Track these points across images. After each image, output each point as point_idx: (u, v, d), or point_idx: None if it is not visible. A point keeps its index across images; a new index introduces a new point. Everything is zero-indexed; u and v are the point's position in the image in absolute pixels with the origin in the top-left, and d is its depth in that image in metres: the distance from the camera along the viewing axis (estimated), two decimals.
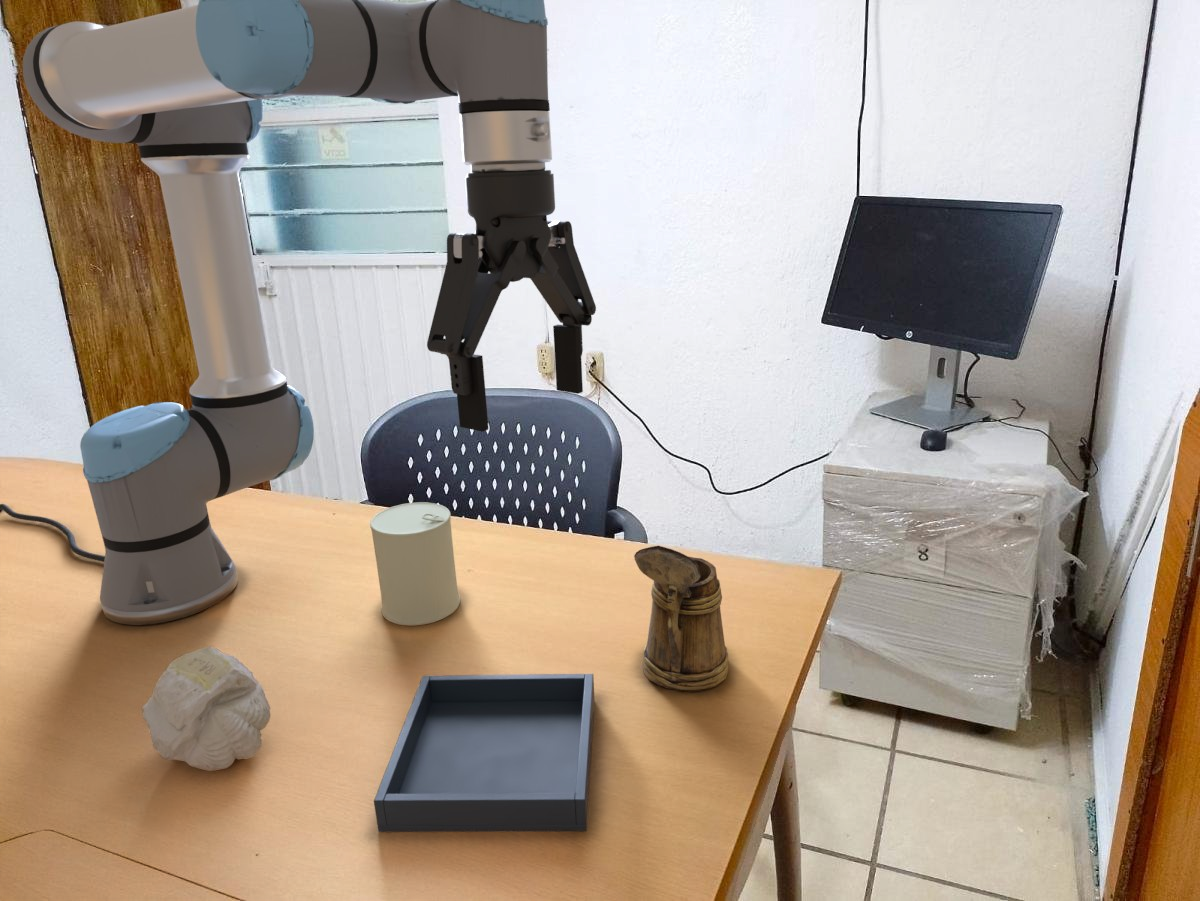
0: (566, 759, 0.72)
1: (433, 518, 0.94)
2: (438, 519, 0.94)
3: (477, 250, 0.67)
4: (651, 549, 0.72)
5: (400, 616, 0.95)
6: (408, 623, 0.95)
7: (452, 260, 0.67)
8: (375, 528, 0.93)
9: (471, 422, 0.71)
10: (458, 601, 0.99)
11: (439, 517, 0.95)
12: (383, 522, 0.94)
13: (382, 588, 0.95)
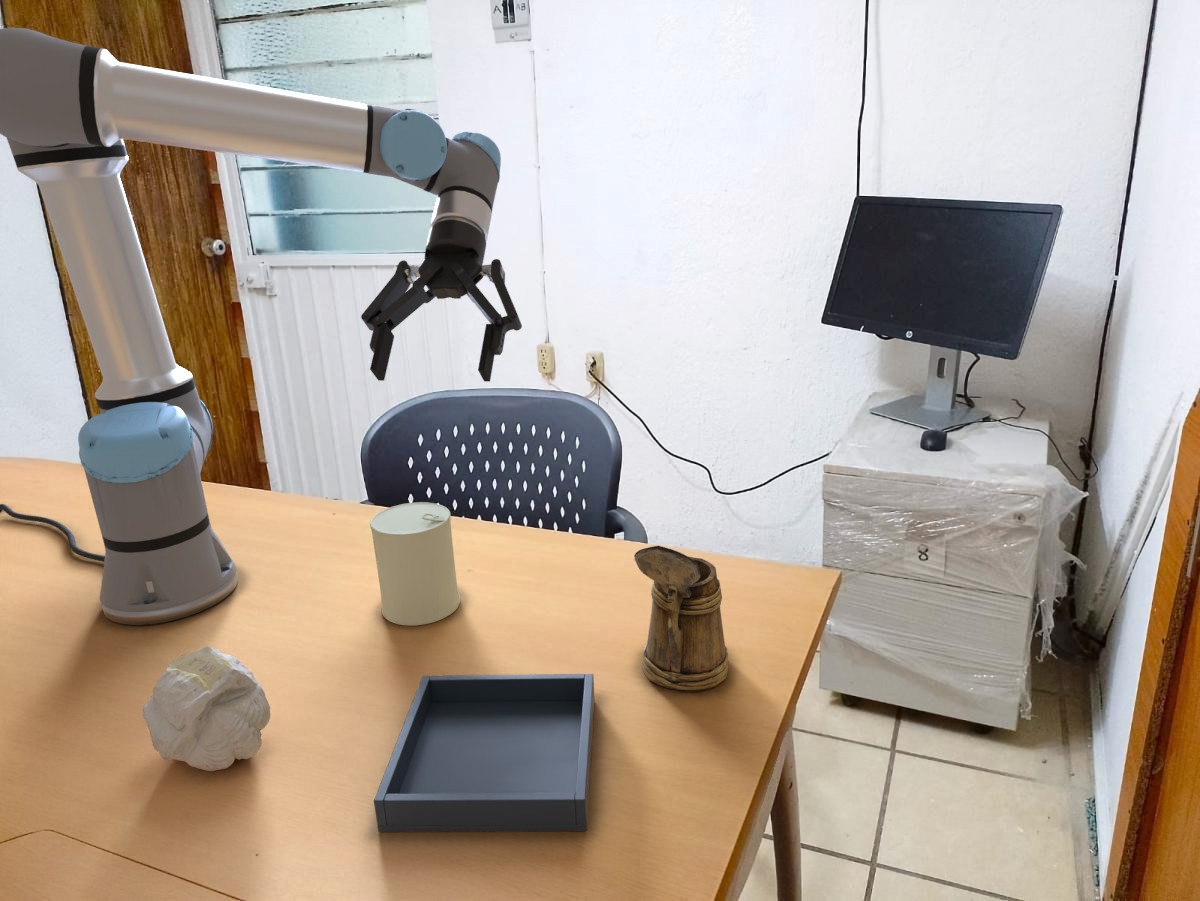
0: (566, 759, 0.72)
1: (433, 518, 0.94)
2: (438, 519, 0.94)
3: None
4: (651, 549, 0.72)
5: (400, 616, 0.95)
6: (408, 623, 0.95)
7: (501, 275, 1.04)
8: (375, 528, 0.93)
9: (488, 371, 0.99)
10: (458, 601, 0.99)
11: (439, 517, 0.95)
12: (383, 522, 0.94)
13: (382, 588, 0.95)
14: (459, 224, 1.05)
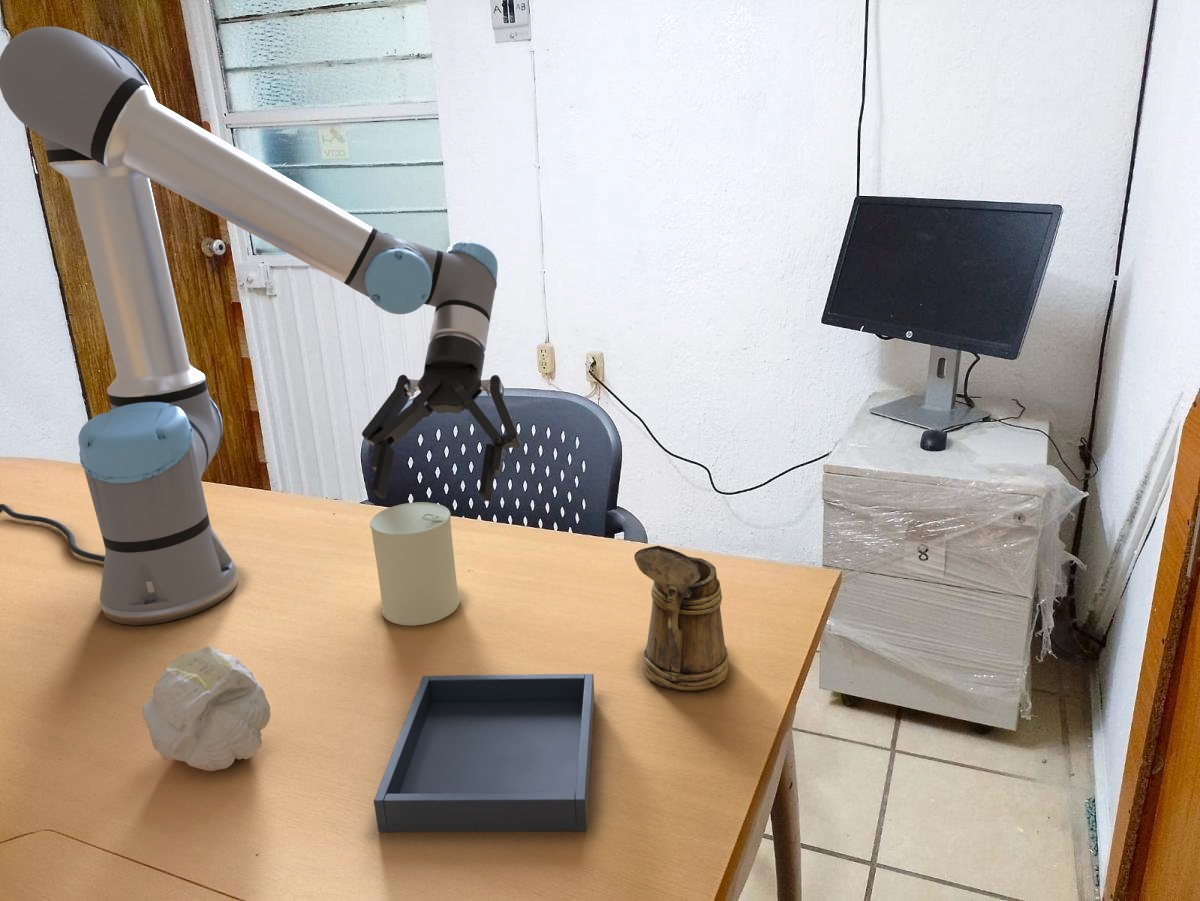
0: (566, 759, 0.72)
1: (433, 518, 0.94)
2: (438, 519, 0.94)
3: None
4: (651, 549, 0.72)
5: (400, 616, 0.95)
6: (408, 623, 0.95)
7: (500, 391, 1.06)
8: (375, 528, 0.93)
9: (488, 492, 1.01)
10: (458, 601, 0.99)
11: (439, 517, 0.95)
12: (383, 522, 0.94)
13: (382, 588, 0.95)
14: (458, 340, 1.07)
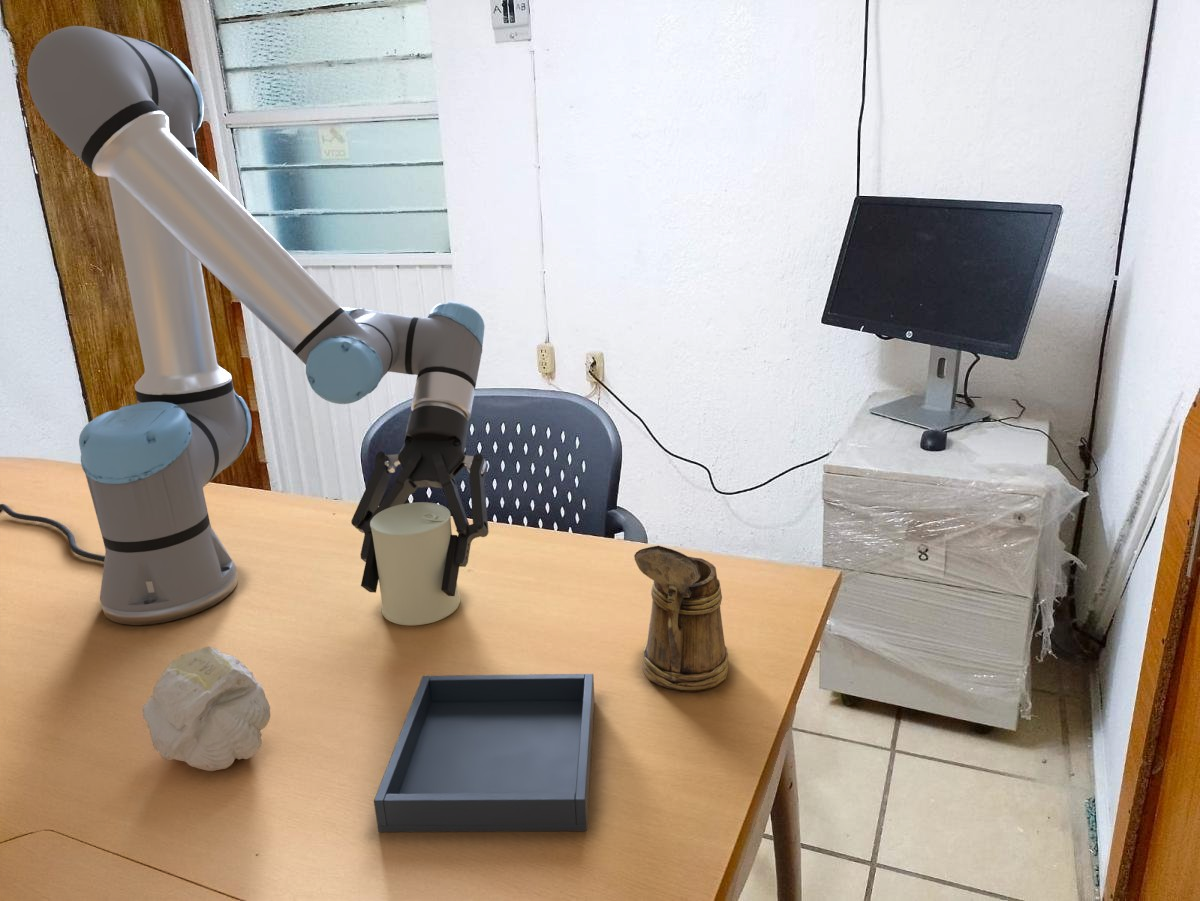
0: (566, 759, 0.72)
1: (433, 518, 0.94)
2: (438, 519, 0.94)
3: None
4: (651, 549, 0.72)
5: (400, 616, 0.95)
6: (408, 623, 0.95)
7: (480, 472, 0.99)
8: (375, 528, 0.93)
9: (452, 587, 0.94)
10: (458, 601, 0.99)
11: (439, 517, 0.95)
12: (383, 522, 0.94)
13: (382, 588, 0.95)
14: (440, 411, 1.01)
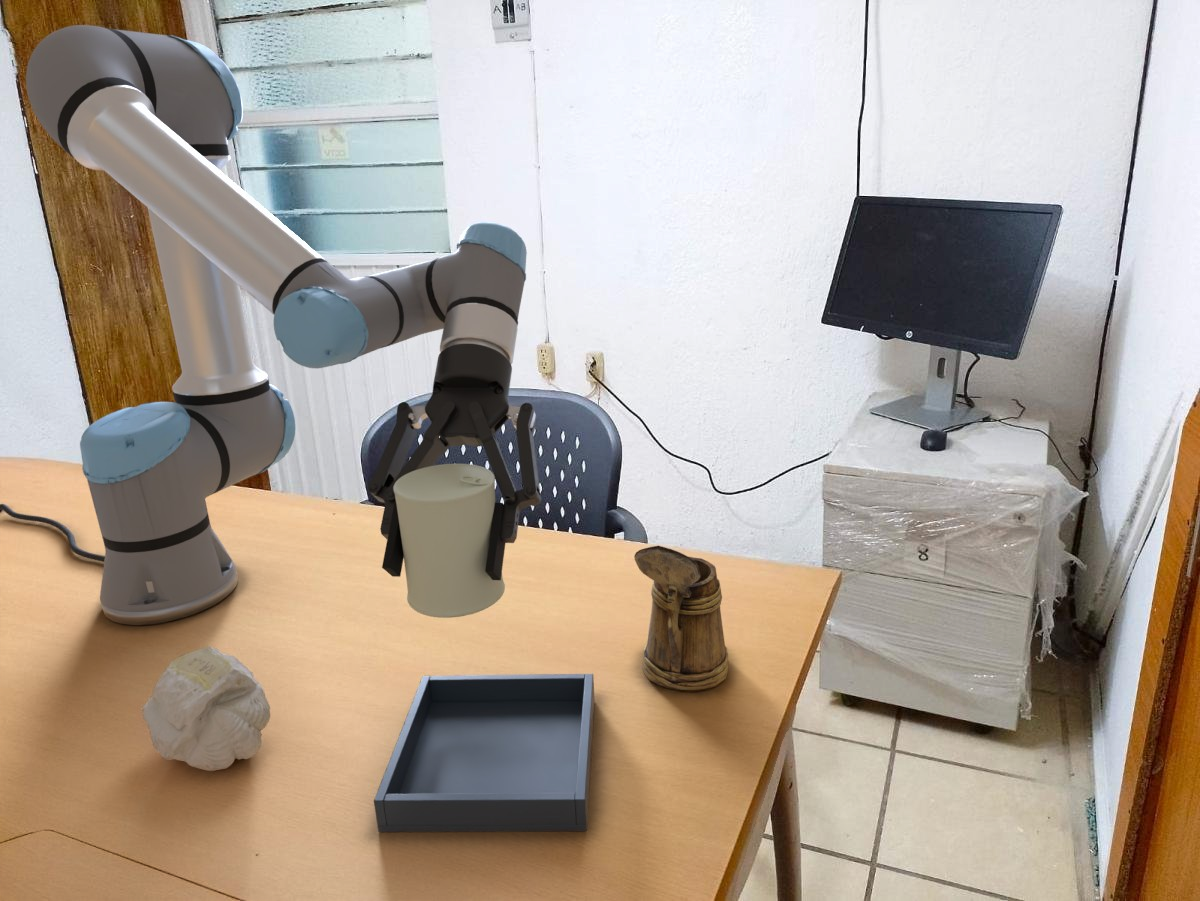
0: (566, 759, 0.72)
1: (474, 481, 0.74)
2: (480, 482, 0.74)
3: None
4: (651, 549, 0.72)
5: (432, 606, 0.75)
6: (443, 614, 0.75)
7: (529, 426, 0.79)
8: (400, 493, 0.73)
9: (498, 569, 0.74)
10: (503, 587, 0.79)
11: (481, 480, 0.75)
12: (410, 487, 0.74)
13: (409, 570, 0.75)
14: (478, 350, 0.80)
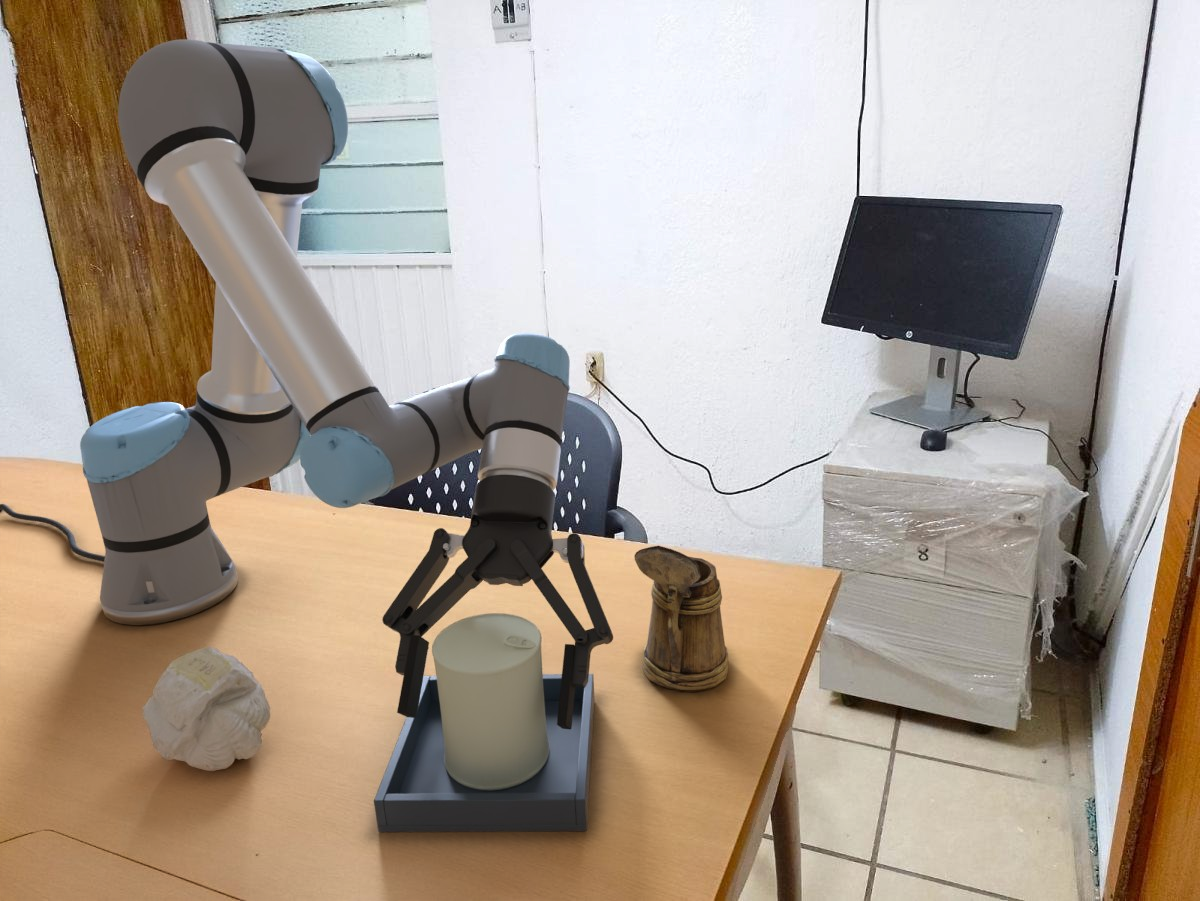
0: (566, 759, 0.72)
1: (519, 643, 0.68)
2: (526, 645, 0.68)
3: None
4: (651, 549, 0.72)
5: (473, 778, 0.69)
6: (485, 787, 0.69)
7: (581, 558, 0.73)
8: (440, 660, 0.67)
9: (569, 719, 0.68)
10: (548, 748, 0.73)
11: (527, 641, 0.69)
12: (450, 649, 0.68)
13: (448, 738, 0.69)
14: (521, 483, 0.74)
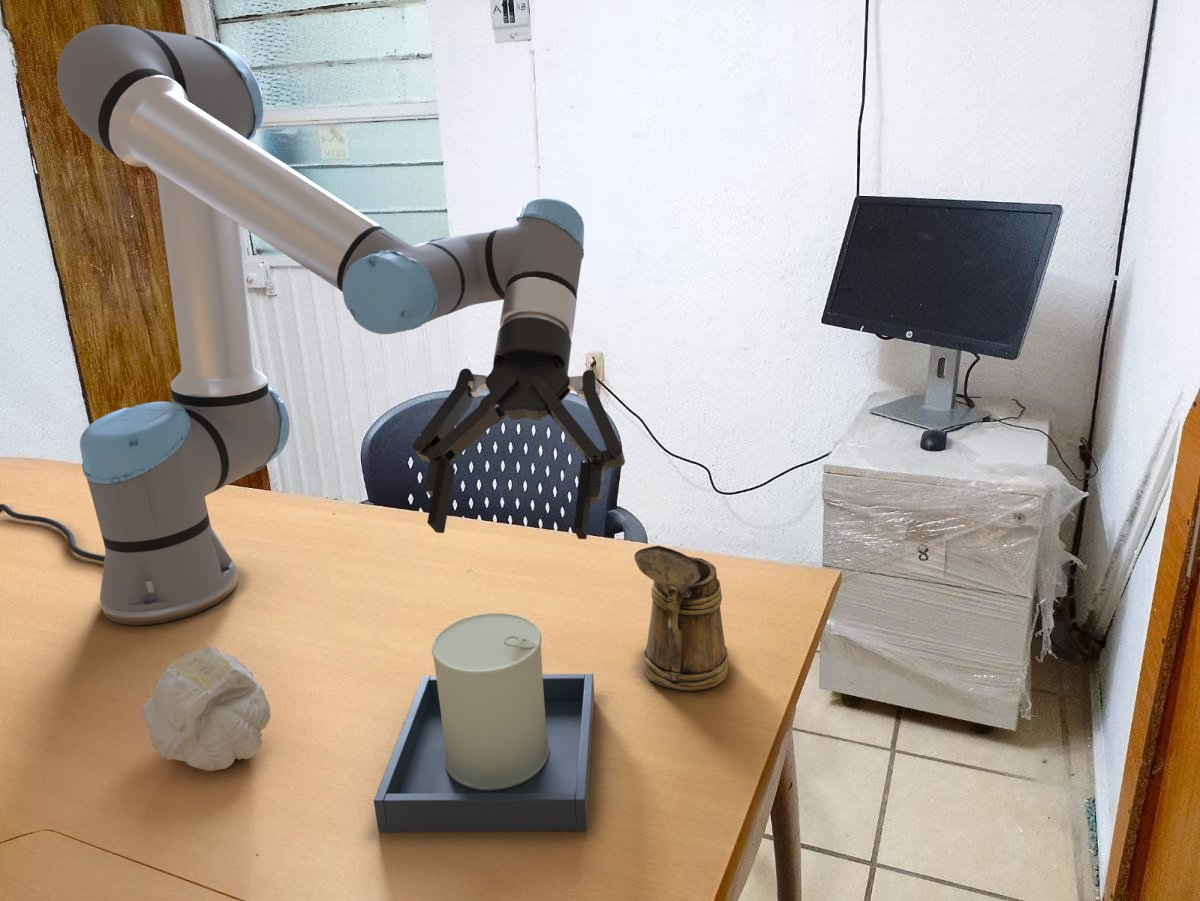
0: (566, 759, 0.72)
1: (519, 643, 0.68)
2: (526, 645, 0.68)
3: None
4: (651, 549, 0.72)
5: (473, 778, 0.69)
6: (485, 787, 0.69)
7: None
8: (440, 660, 0.67)
9: (585, 528, 0.75)
10: (548, 748, 0.73)
11: (527, 641, 0.69)
12: (450, 649, 0.68)
13: (448, 738, 0.69)
14: (540, 324, 0.81)
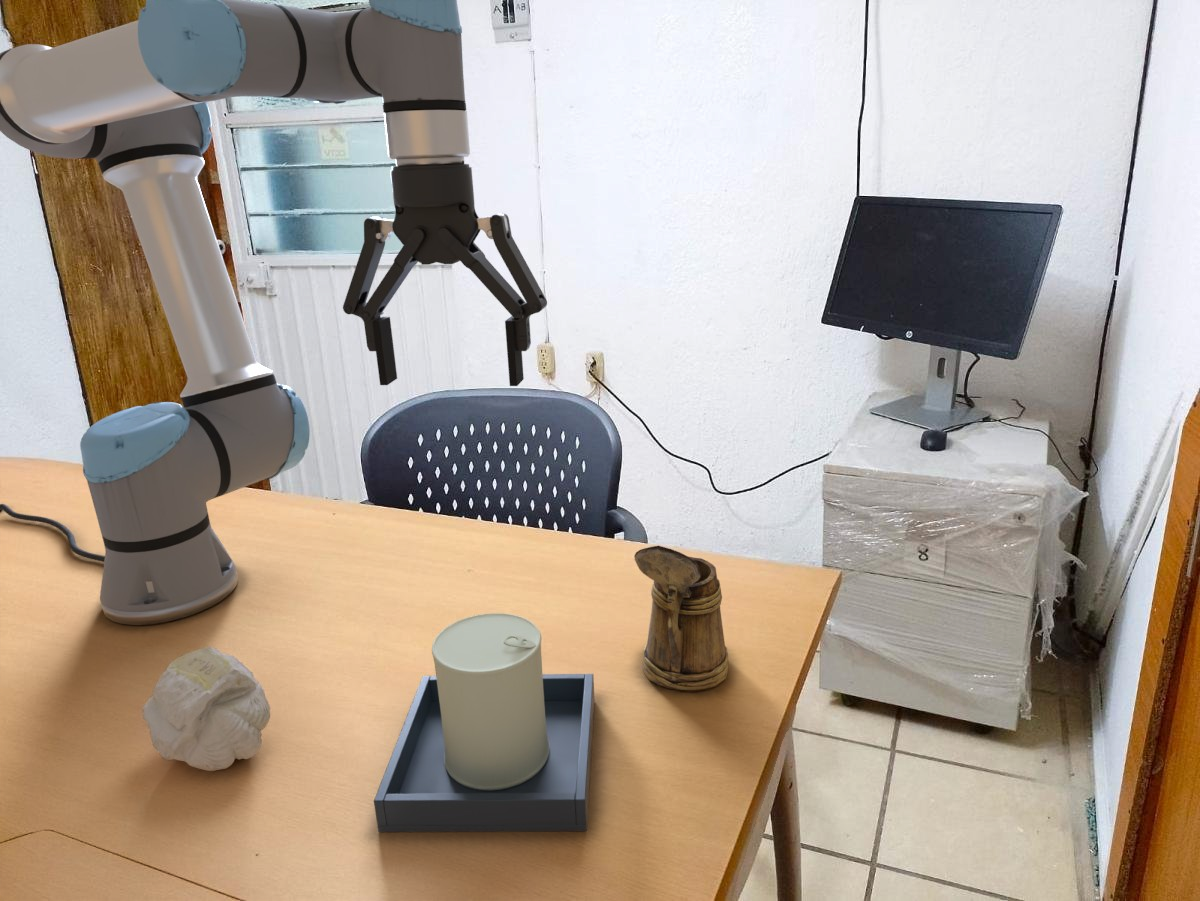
0: (566, 759, 0.72)
1: (519, 643, 0.68)
2: (526, 645, 0.68)
3: None
4: (651, 549, 0.72)
5: (473, 778, 0.69)
6: (485, 787, 0.69)
7: (506, 237, 0.78)
8: (440, 660, 0.67)
9: (520, 376, 0.83)
10: (548, 748, 0.73)
11: (527, 641, 0.69)
12: (450, 649, 0.68)
13: (448, 738, 0.69)
14: (432, 174, 0.74)
